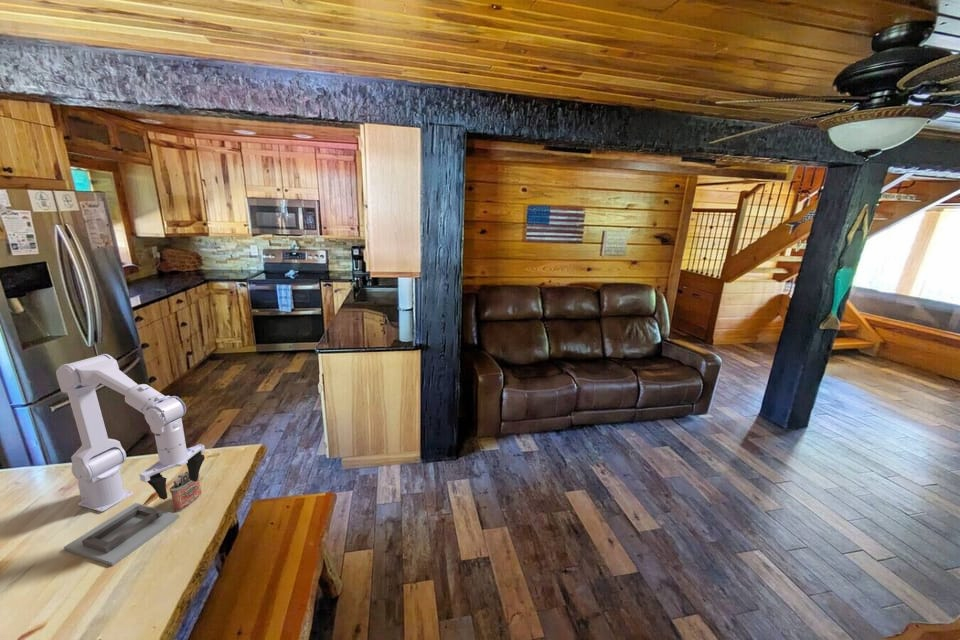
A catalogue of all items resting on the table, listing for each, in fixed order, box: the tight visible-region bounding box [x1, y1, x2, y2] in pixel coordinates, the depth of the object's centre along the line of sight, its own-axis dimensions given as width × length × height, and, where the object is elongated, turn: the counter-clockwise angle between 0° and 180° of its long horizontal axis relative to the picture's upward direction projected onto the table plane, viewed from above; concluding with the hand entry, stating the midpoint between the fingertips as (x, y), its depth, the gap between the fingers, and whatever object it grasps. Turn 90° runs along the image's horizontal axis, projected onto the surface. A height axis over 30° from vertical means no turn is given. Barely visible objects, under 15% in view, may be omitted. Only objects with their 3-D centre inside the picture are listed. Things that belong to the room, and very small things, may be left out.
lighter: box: [169, 470, 202, 513], centre depth 109 cm, size 8×3×10 cm, turn 168°
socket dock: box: [63, 502, 180, 567], centre depth 99 cm, size 16×16×2 cm
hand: (179, 488), depth 102 cm, fingers open, 7 cm apart
